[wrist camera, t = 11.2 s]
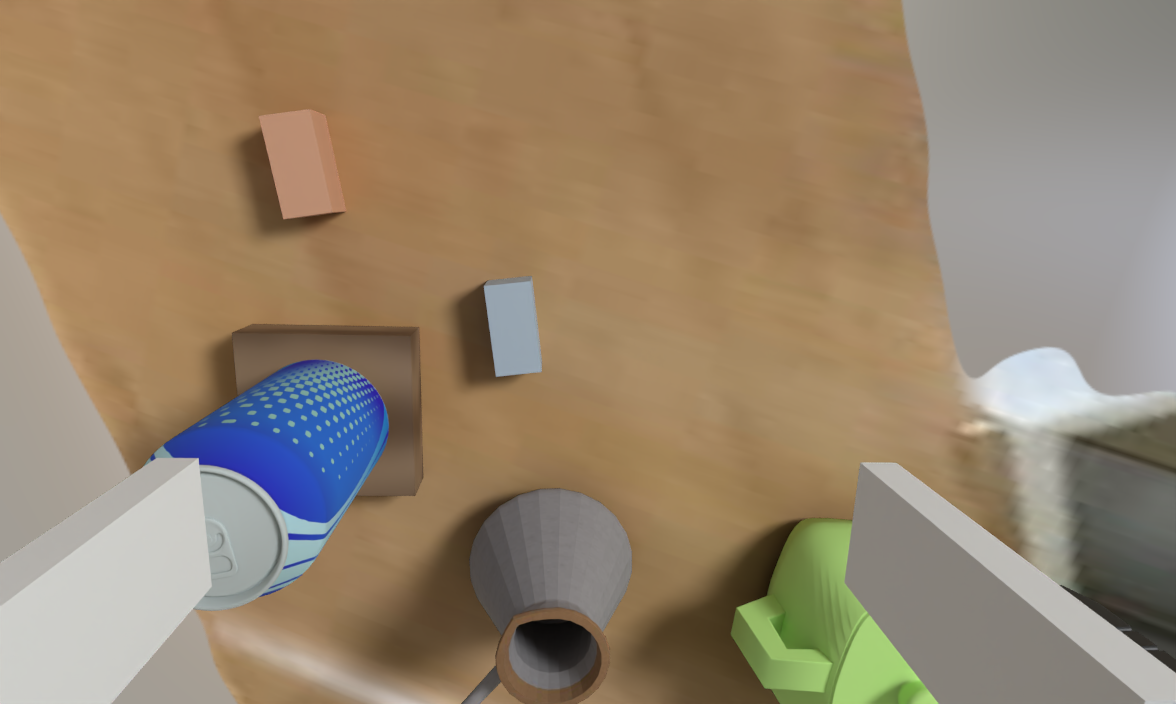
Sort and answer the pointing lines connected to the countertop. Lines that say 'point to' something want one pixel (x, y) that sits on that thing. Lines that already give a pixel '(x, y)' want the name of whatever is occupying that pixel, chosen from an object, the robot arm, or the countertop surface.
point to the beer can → (280, 473)
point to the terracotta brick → (302, 163)
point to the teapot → (821, 629)
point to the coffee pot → (549, 593)
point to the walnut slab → (371, 353)
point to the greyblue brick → (513, 326)
